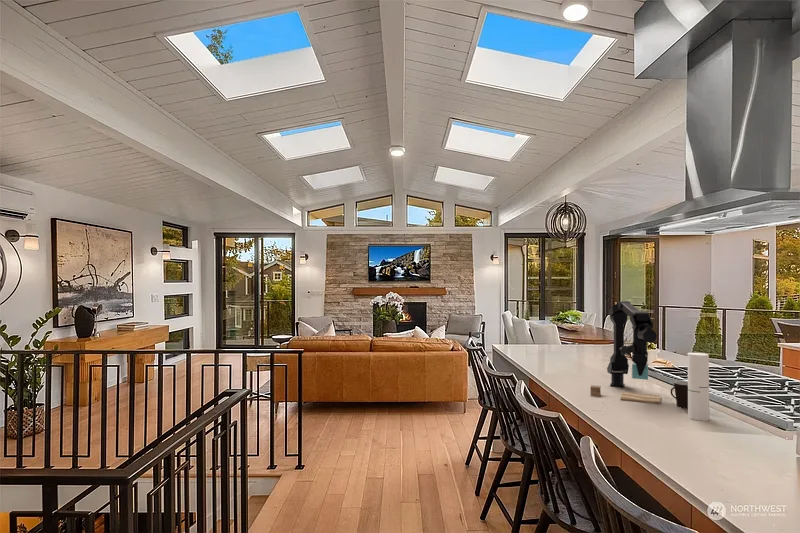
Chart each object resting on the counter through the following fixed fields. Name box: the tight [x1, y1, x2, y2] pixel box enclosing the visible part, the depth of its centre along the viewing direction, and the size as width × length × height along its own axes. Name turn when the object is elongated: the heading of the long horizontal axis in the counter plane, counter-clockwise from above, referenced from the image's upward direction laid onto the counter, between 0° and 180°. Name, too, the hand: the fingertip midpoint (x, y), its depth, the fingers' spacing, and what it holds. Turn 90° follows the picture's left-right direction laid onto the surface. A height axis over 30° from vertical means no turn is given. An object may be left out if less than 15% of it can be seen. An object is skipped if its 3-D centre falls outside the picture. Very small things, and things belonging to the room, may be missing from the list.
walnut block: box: [590, 384, 602, 397], centre depth 240 cm, size 4×4×4 cm
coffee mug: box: [670, 380, 688, 410], centre depth 218 cm, size 12×9×10 cm
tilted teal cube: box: [631, 362, 649, 381], centre depth 232 cm, size 6×6×6 cm
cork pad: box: [619, 391, 662, 405], centre depth 232 cm, size 14×16×1 cm
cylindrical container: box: [687, 352, 710, 422], centre depth 201 cm, size 7×7×25 cm
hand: (640, 374), depth 232 cm, fingers closed on tilted teal cube, 6 cm apart
